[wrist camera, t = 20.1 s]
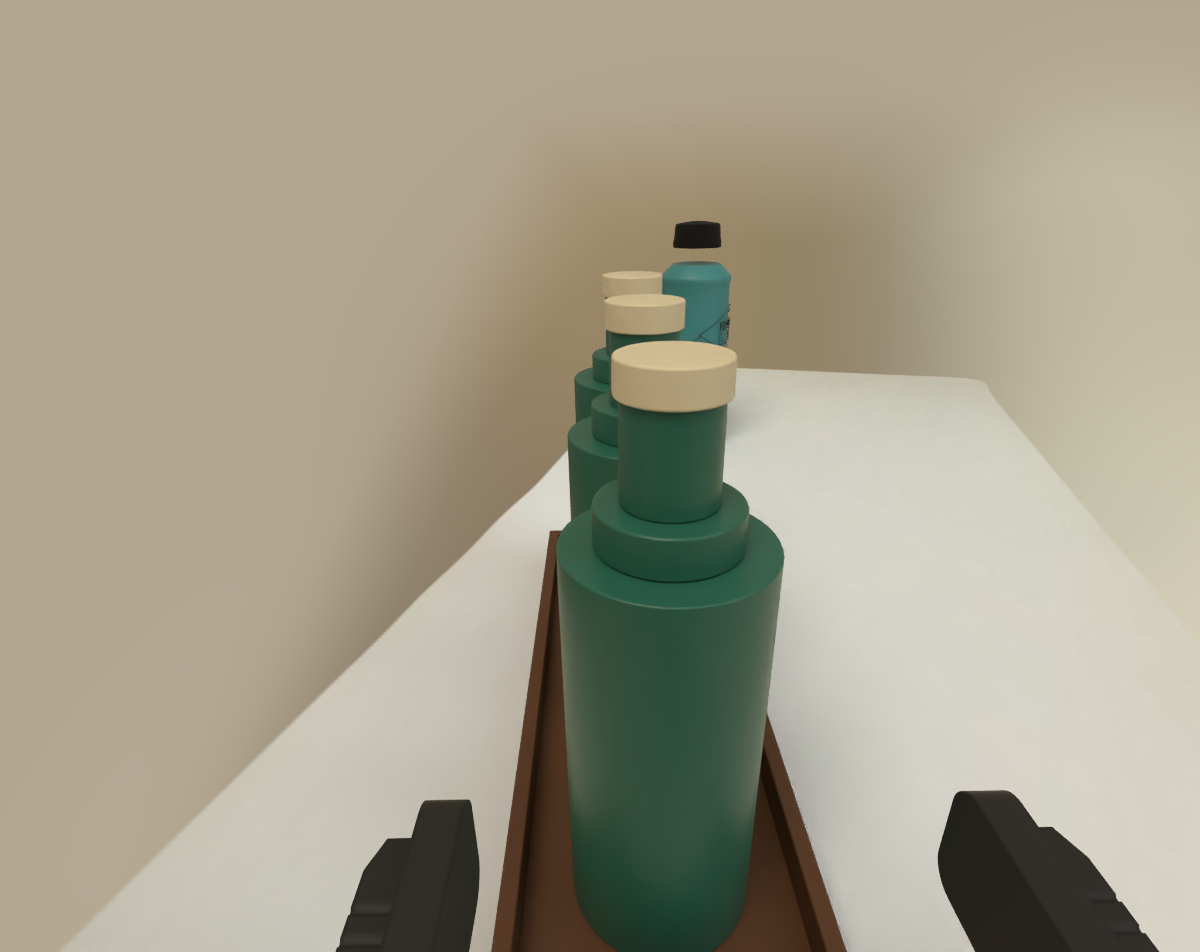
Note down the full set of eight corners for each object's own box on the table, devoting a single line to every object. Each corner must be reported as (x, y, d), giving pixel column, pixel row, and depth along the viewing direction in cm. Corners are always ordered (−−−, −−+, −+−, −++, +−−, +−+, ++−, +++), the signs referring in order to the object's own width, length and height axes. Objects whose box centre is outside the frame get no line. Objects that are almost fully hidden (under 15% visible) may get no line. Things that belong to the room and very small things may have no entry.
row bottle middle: (552, 693, 30) (528, 301, 23) (635, 636, 34) (637, 285, 26) (647, 764, 26) (654, 319, 19) (729, 690, 30) (761, 297, 23)
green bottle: (538, 872, 22) (493, 355, 15) (649, 771, 26) (658, 321, 18) (671, 1014, 18) (700, 406, 11) (779, 869, 22) (854, 349, 15)
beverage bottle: (656, 451, 60) (660, 222, 52) (655, 428, 66) (659, 220, 58) (726, 451, 59) (741, 221, 51) (718, 428, 65) (731, 219, 57)
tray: (853, 1042, 18) (864, 1000, 17) (489, 1048, 18) (483, 1006, 17) (703, 554, 42) (705, 527, 41) (551, 556, 42) (549, 530, 41)
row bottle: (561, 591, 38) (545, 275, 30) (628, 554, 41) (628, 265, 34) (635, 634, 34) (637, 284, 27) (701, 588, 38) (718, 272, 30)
